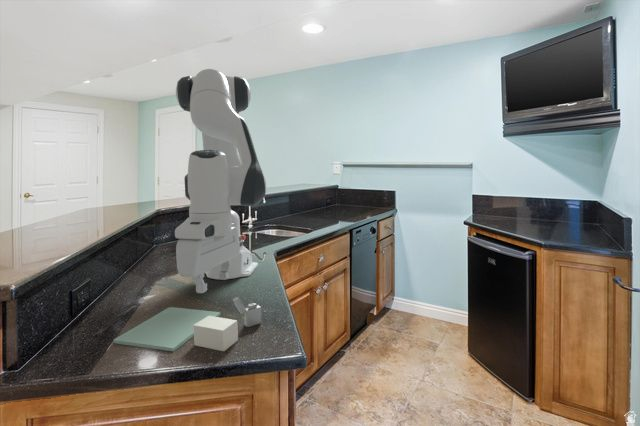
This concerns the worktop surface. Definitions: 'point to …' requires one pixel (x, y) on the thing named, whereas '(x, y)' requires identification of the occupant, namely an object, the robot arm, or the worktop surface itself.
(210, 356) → the worktop surface
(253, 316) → the lighter
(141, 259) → the worktop surface
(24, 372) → the worktop surface
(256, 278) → the worktop surface
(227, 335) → the card box
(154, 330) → the mat
